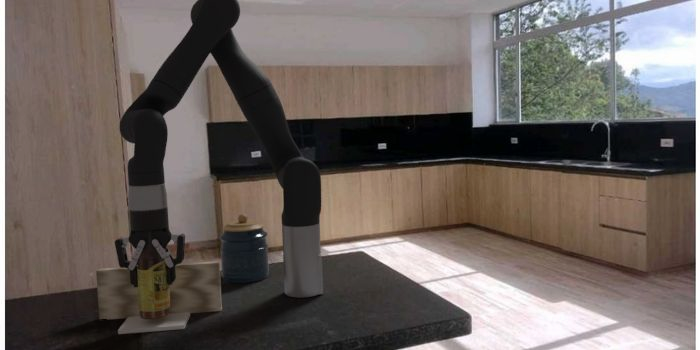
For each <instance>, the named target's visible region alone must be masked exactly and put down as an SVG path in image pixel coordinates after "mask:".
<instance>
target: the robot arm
mask: <svg viewBox="0 0 700 350" xmlns="http://www.w3.org/2000/svg"><path fill="white" fill-rule="evenodd" d="M240 17H241V6H240V3H239V0H196V1H195V2H194V4H193V5H192V7H191V10H190V20H191V21H190V22H191V23H192V25H190V28H189V29H188V31H187V32H186V34H185V35H184V36H183V37H182V39H181V41H179V43H178V44H177V45H176V47H175V48H174V49H173V50H172V52H171V53H170V54H169V55H168V56H167V58H165V60H164V61H163V62H162V64H161V65H160V66H159V68H158V70H157V72H155V75H154V76H153V77H152V79H151V81H150V82H149V84H148V86H147V87H146V88H145V90H143V92H142V93H141V94H140V95H139V96H138V97H136V99H134V101H133V102H132V103H131V104H130V106H129V107H128V108H127V109H126V110H125V111H124V113H123V115H122V117H121V118H120V121H119V125H118V127H119V134H120V135H121V137H122V138H123V139H124V140H125V141H126V142H128V143H130V144H134V146H133V147H134V148H133V150H134V151H133V156H132V157H131V158H129V159H128V161H127V182H128V194H127V199H128V200H127V201H128V202H127V207H128V213H129V229H130V234H129V236H127V237H121V236H120V237H118V238H116V239H115V241H114V247H115V252H116V256H117V261H118V267H119V268H120V267H121V268H123V267H124V268H128V269H129V271H130V283H131V285H134V287H138V282H137V262H138V259H139V257H140V254H141V252H142V250H143V248H144V246H145V244H146V241H145V232H147V231H154V233H155V238H154V240H153V241H152V244H153V245H154V247H155V248H156V250H157V251H158V253H159V254H160V256H161V258H162V259H164V260H165V263H166V264H167V266H168V267H167V279H168V285H172V283H173V282H174V281H175V279H176V270H175V265H177V264H183V261H184V260H185V246H186V234H185V233H180V234H173V233H172V232H171V231H170V226H169V222H170V221H169V209H168V208H169V207H168V194H167V189H166V182H165V181H166V180H165V169H164V161H165V157H166V152H167V151H166V150H167V144H168V132H169V130H168V125H167V122H166V119H165V117H164V116H165V115H166V114H167V113H168V112H169V111H172V110H174V109H175V108H176V107H178V105H179V104H180V102H181V101H182V99H183V98H184V97H185V95H186V93H187V91H188V90H189V87H190V86H191V85H192V83H193V81H194V79H195V77H196V76H197V74H198V73H199V71H200V70H201V68H202V66H203V64H204V63H205V61H206V60H207V59H208V57H209V55H210V54H211V56H212V57H213V59H214V61H215V62H216V64H217V66H218V68H219V70H220V72H221V74H222V76H223V77H224V80H225V82H226V83H227V85H228V87H229V88H230V91H231V92H232V94H233V97H234V99H235V100H236V103H237V105H238V107H239V110H241V112H242V114H243V116H244V118H245V119H246V121H247V122H248V125H249V126H250V128H251V129H252V131H253V133H254V135H255V136H256V137H257V140H259V142H260V143H261V145H262V146H263V148H264V150H265V152H266V154H267V157H268V159H269V161H270V164H271V167H272V169H273V171H274V173H275V176H276V179H277V181H278V184H279V186H280V187H281V189H282V196H283V199H282V201H283V203H282V204H283V206H282V207H283V208H282V213H281V231H282V232H281V234H282V235H281V237H282V255H283V256H282V258H283V280H284V281H283V284H284V285H283V286H284V295H286V296H287V297H289V298H290V297H292V298H310V297H315V296H318V295H323V294H324V283H323V257H322V254H321V253H322V251H321V224H320V222H321V221H320V217H321V213H322V178H321V173H320V169H319V168H318V166H317V165H316V164H315V163H314V162H313V161H312V160H310V159H307V158H305V157H304V155H303V153H302V152H301V151H300V149H299V147H298V146H297V144H296V142H295V141H294V138H293V137H292V134H291V131H290V129H289V125H288V122H287V117H286V114H285V110H284V108H283V105H282V102H281V100H280V98H279V95H278V94H277V91H276V89H275V88H274V86H273V84H272V82H271V80H270V78H269V77H268V76H267V74H266V73H265V72H264V71H263V69H261V68H260V67H259V66H258V65H257V64H256V63H255V62H254V61H253V60H252V59H250V57H248V56H247V54H246V53H245V52H244V51H243V49H242V48H241V45H240V44H239V43H238V40H237V38H236V36H235V34H234V32H233V28H234V26H236V24H237V23H238V21H239V20H240ZM171 240H172V241H173V244H174V245H175V246H176V255H175V256H176V257H175V258H174V257H173V255H172V252H171V250H170V249H169V247H168V245H169V243H170V242H171ZM129 243H130V245H132V248H134V249H135V250H134V252H133V255H132V257H131V260H129V257H128V254H127V249H126V248H127V247H128V246H129Z"/></svg>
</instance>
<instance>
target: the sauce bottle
mask: <svg viewBox="0 0 700 350" xmlns="http://www.w3.org/2000/svg"><path fill="white" fill-rule="evenodd" d="M154 238H155V233H154V231H147V232H145V241H146V244H145V246H144V248H143V250H142V252H141V254H140V257H139V259H138V262H137V282H138V303H139V310H140V317H141V318H142V319H148V320H153V319H158V318H162V317H165V316H167V315H168V314H169V311H170V309H169V308H170V290H169V285H168V279H167V267H168V266H167V264H166V263H165V260H164V259H162V258H161V256H160V254H159V253H158V251H157V250H156V248H155V247H154V245H153V244H152V241H153V240H154Z"/></svg>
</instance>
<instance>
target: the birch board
mask: <svg viewBox="0 0 700 350" xmlns="http://www.w3.org/2000/svg"><path fill="white" fill-rule="evenodd" d="M220 268H221V266H220V261H219V260H217V261H215V260H214V261H204V262H203V261H202V262H200V261H199V262H188V263H187V262H186V263H185V262H184V263H183V262H182V263H181V264H177V265H175V270H176V279H175V281H174V282H173V283H172V285H169V290H170V308H169V309H170V311H169V314H173V313H186V312H190V314H196V313H197V314H199V313H209V312H222V310H223V303H222V285H221V269H220ZM95 273H96V277H95V278H96V287H97V301H98V304H97V305H98V317H99V320H100V319H107V320H118V319H119V320H120V319H127V318H128V317H133V316H140V310H139V303H138V287H134V285H131V283H130V271H129V269H128V268H124V267H123V268H121V267H120V266H119V267H108V268H107V267H105V268H98V269H96V270H95Z"/></svg>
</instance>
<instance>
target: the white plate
mask: <svg viewBox="0 0 700 350" xmlns="http://www.w3.org/2000/svg"><path fill="white" fill-rule="evenodd" d="M190 317H191V313H190V312H186V313H173V314H168V315H167V316H165V317H162V318H158V319H153V320H148V319H142V318H141V317H140V316H133V317H128V318H125V320H124V322H123V323H122V324H121V325H120V327H119V328H118V330H117V334H118V335H123V334H124V335H125V334H127V335H128V334H137V333H138V334H139V333H149V332H162V331H175V330H176V331H177V330H185V328H186V326H187V324H188V322H189V319H190Z"/></svg>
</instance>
